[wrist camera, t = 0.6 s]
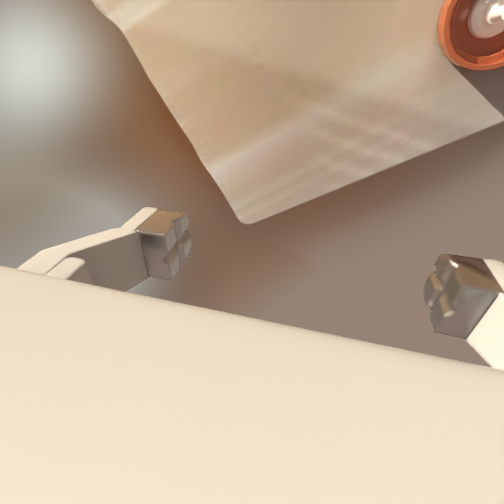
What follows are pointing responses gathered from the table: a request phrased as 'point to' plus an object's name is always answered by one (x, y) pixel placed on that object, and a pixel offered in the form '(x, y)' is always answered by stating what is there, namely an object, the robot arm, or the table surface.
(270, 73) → the table surface
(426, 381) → the robot arm
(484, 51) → the dish
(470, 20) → the chess piece
